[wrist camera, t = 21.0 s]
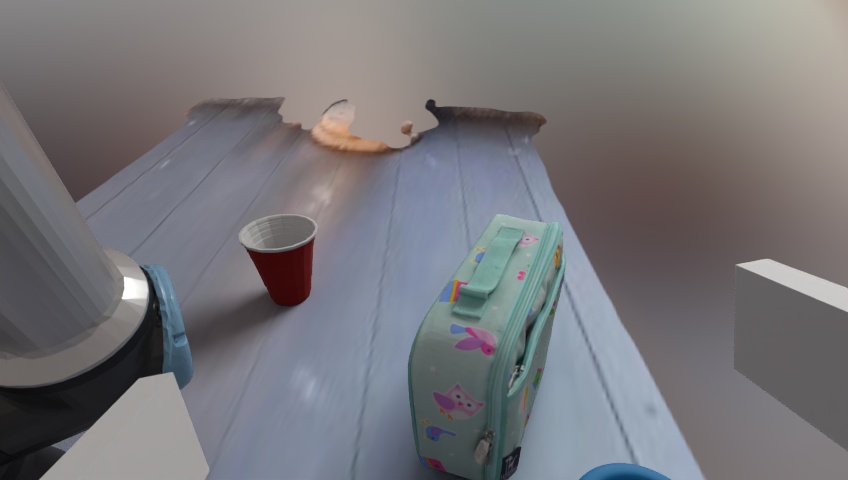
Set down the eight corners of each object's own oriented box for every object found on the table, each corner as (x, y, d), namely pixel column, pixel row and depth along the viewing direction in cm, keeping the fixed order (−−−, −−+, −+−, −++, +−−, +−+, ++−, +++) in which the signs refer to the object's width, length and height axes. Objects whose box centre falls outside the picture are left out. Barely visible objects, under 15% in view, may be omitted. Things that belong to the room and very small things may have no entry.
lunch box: (502, 531, 41) (533, 382, 29) (402, 486, 45) (394, 336, 33) (552, 337, 62) (583, 202, 50) (481, 316, 65) (494, 185, 53)
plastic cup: (337, 275, 73) (328, 212, 66) (312, 321, 64) (298, 254, 57) (275, 268, 75) (260, 206, 68) (242, 312, 66) (222, 245, 59)
